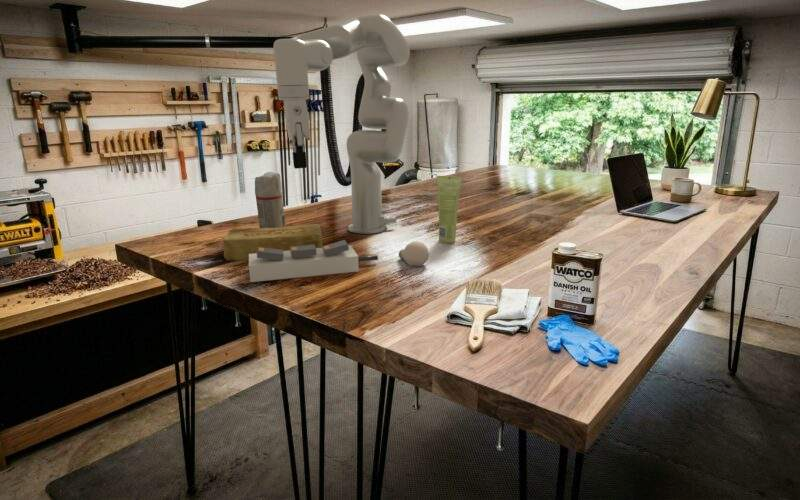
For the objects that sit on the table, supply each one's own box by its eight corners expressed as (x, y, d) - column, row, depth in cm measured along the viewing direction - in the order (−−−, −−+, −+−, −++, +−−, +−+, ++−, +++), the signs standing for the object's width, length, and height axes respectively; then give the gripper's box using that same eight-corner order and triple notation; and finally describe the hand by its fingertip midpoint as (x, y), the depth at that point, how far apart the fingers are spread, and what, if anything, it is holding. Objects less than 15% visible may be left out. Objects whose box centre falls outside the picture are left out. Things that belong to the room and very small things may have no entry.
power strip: (373, 257, 137) (372, 242, 136) (382, 269, 128) (381, 253, 127) (250, 268, 129) (248, 253, 128) (250, 282, 120) (248, 265, 118)
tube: (451, 237, 155) (453, 174, 150) (460, 241, 151) (462, 176, 145) (435, 240, 153) (436, 175, 147) (444, 244, 149) (445, 178, 143)
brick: (229, 252, 147) (227, 229, 146) (321, 245, 152) (320, 222, 151) (223, 263, 134) (220, 238, 133) (324, 256, 139) (322, 231, 138)
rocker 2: (314, 250, 127) (314, 244, 127) (316, 255, 124) (316, 248, 123) (290, 253, 126) (289, 246, 125) (291, 257, 122) (291, 250, 122)
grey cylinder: (280, 241, 154) (274, 175, 148) (255, 239, 155) (248, 174, 149) (291, 233, 161) (286, 171, 156) (267, 232, 163) (261, 170, 157)
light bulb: (391, 241, 135) (411, 239, 125) (412, 243, 138) (434, 241, 128) (390, 266, 135) (411, 266, 125) (412, 267, 138) (433, 267, 128)
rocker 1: (281, 255, 125) (282, 249, 125) (282, 260, 122) (283, 254, 121) (256, 253, 124) (257, 246, 123) (256, 258, 120) (257, 251, 120)
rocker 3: (346, 245, 129) (344, 239, 129) (349, 249, 126) (347, 243, 125) (323, 252, 128) (321, 246, 128) (325, 256, 125) (323, 250, 124)
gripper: (312, 93, 119) (319, 171, 125) (305, 92, 132) (311, 162, 138) (280, 94, 117) (288, 173, 123) (276, 93, 130) (283, 164, 136)
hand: (300, 167), depth 131 cm, fingers closed
